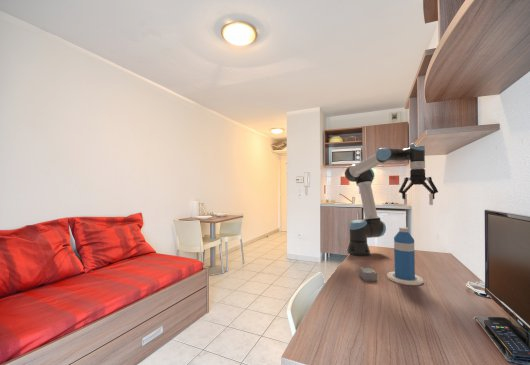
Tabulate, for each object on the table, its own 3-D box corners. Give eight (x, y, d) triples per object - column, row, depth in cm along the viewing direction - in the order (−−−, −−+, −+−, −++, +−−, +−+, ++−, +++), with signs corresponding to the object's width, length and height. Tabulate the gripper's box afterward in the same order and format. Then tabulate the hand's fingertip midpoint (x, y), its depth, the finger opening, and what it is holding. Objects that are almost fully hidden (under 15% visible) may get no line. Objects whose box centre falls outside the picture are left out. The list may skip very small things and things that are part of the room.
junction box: (359, 275, 129) (359, 266, 129) (370, 275, 129) (370, 266, 129) (364, 280, 121) (364, 271, 121) (376, 280, 121) (376, 272, 121)
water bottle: (419, 280, 118) (418, 229, 119) (400, 280, 119) (399, 229, 119) (408, 273, 128) (407, 226, 128) (390, 273, 128) (389, 226, 128)
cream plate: (383, 272, 133) (383, 270, 133) (415, 274, 129) (415, 272, 129) (392, 283, 117) (392, 281, 117) (429, 286, 114) (429, 284, 114)
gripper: (396, 169, 142) (397, 204, 141) (444, 168, 136) (445, 205, 136) (392, 169, 149) (393, 204, 149) (438, 169, 144) (438, 204, 143)
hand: (418, 204), depth 142 cm, fingers open, 13 cm apart
